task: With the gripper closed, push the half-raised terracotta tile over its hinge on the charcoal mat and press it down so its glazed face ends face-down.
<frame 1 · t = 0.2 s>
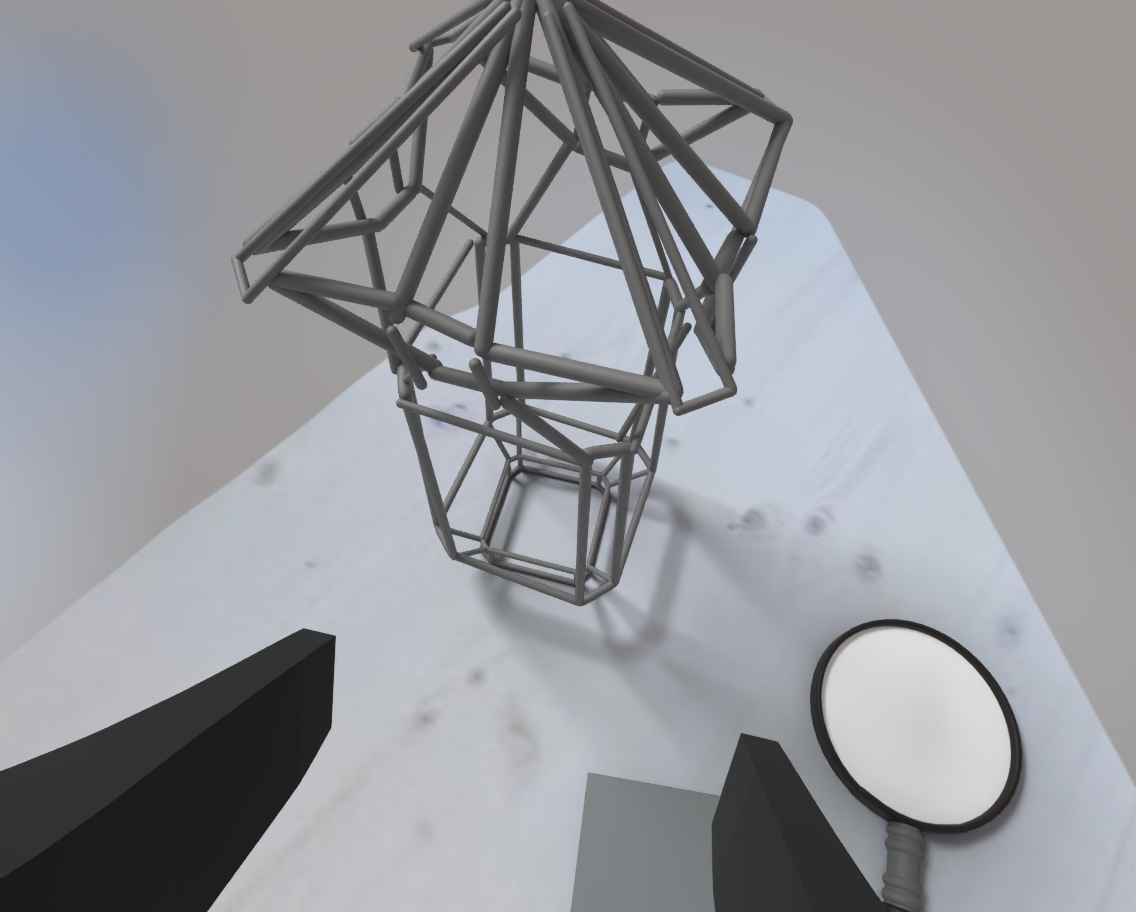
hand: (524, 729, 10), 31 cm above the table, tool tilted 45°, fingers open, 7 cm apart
magnifying glass: (896, 816, 36), on the table
geometric lantern: (560, 523, 46), on the table
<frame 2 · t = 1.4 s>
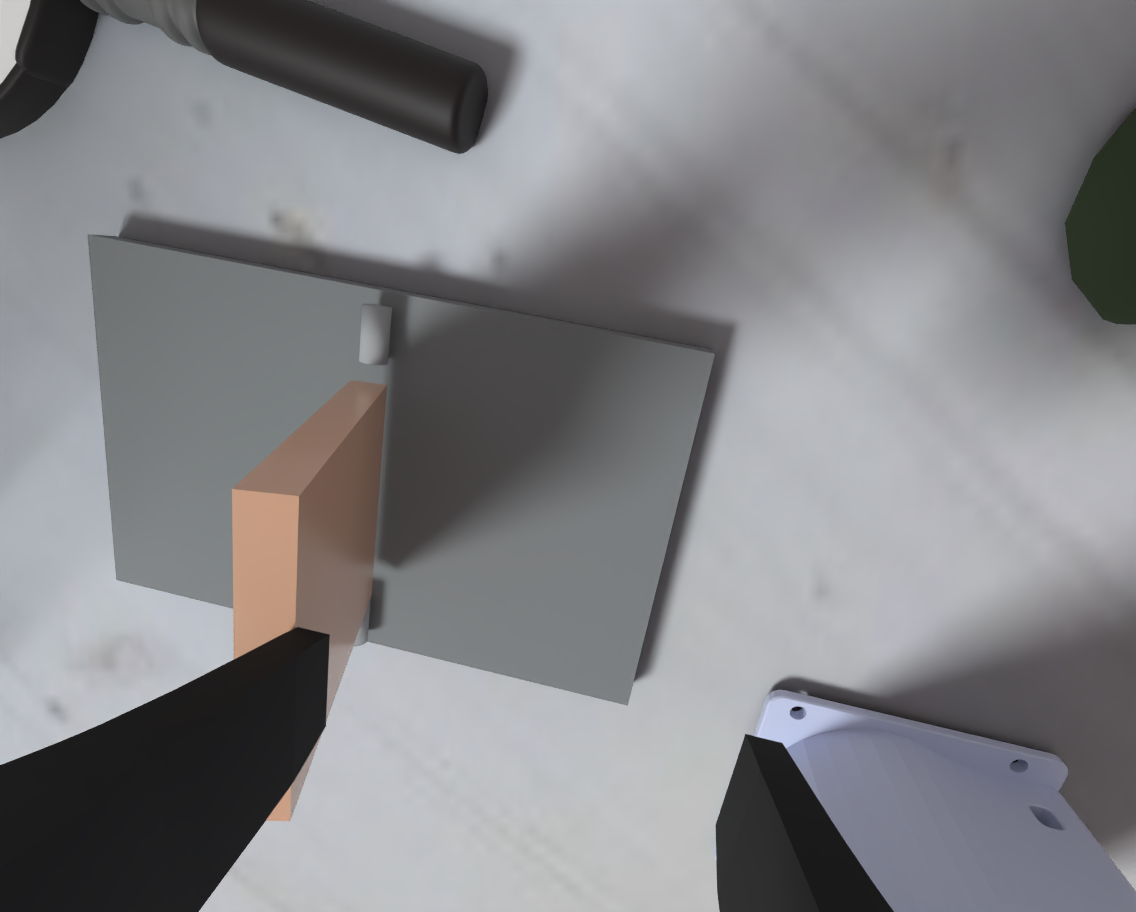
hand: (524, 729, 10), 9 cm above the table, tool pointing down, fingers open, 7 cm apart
tile: (324, 560, 14), point 6 cm above the table, hinge at 75.0°, touching gripper
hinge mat: (386, 473, 20), on the table
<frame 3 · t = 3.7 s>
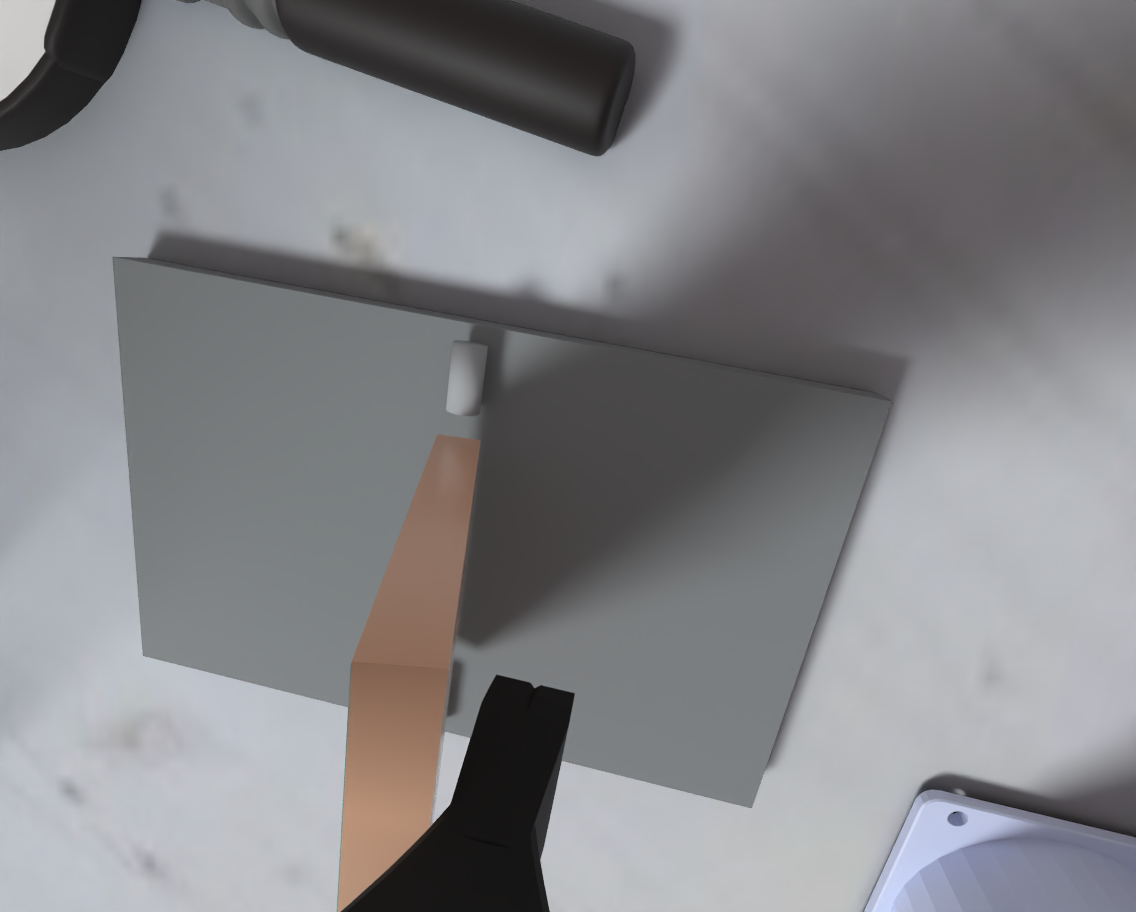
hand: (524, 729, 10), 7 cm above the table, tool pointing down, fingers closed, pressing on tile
tile: (422, 677, 11), point 6 cm above the table, hinge at 76.0°, touching gripper
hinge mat: (464, 535, 17), on the table
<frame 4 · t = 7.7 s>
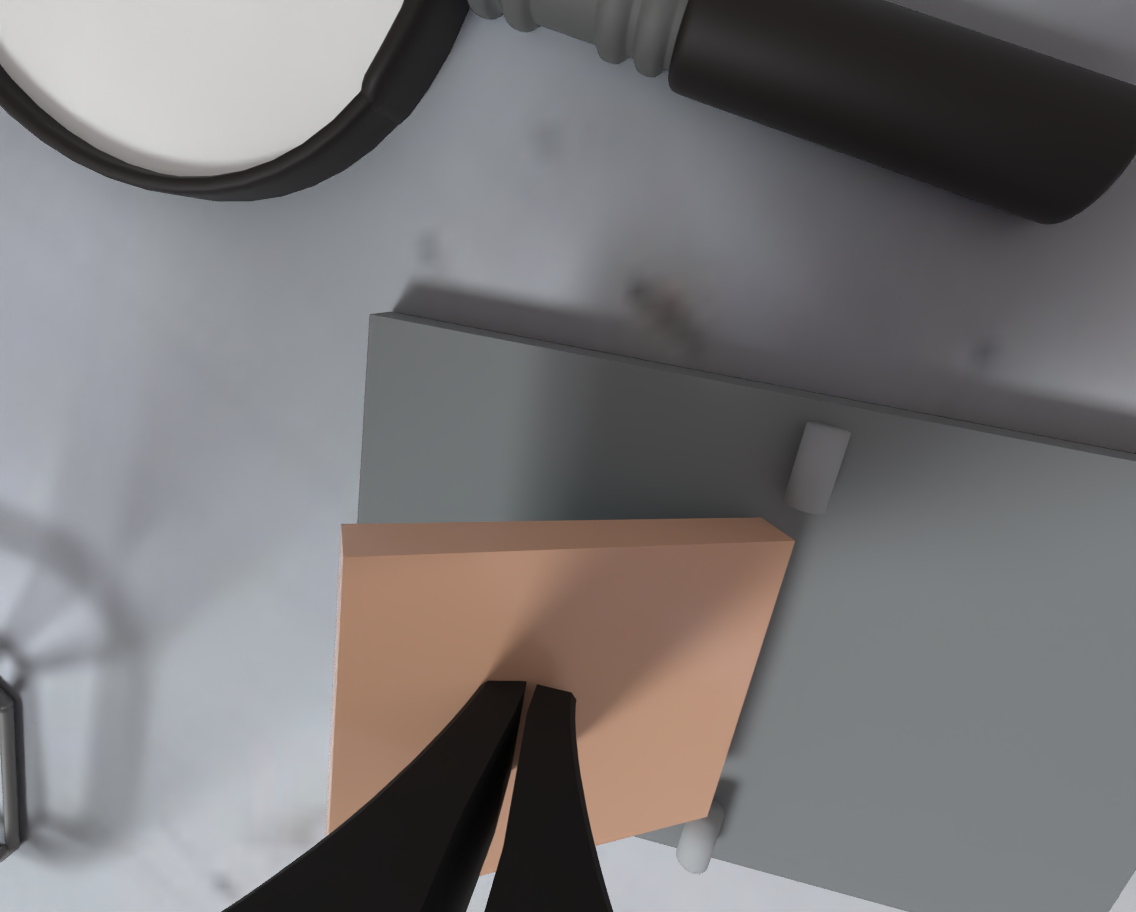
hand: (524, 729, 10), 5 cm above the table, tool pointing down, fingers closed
tile: (560, 699, 11), point 4 cm above the table, hinge at 149.2°, touching gripper
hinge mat: (742, 632, 14), on the table
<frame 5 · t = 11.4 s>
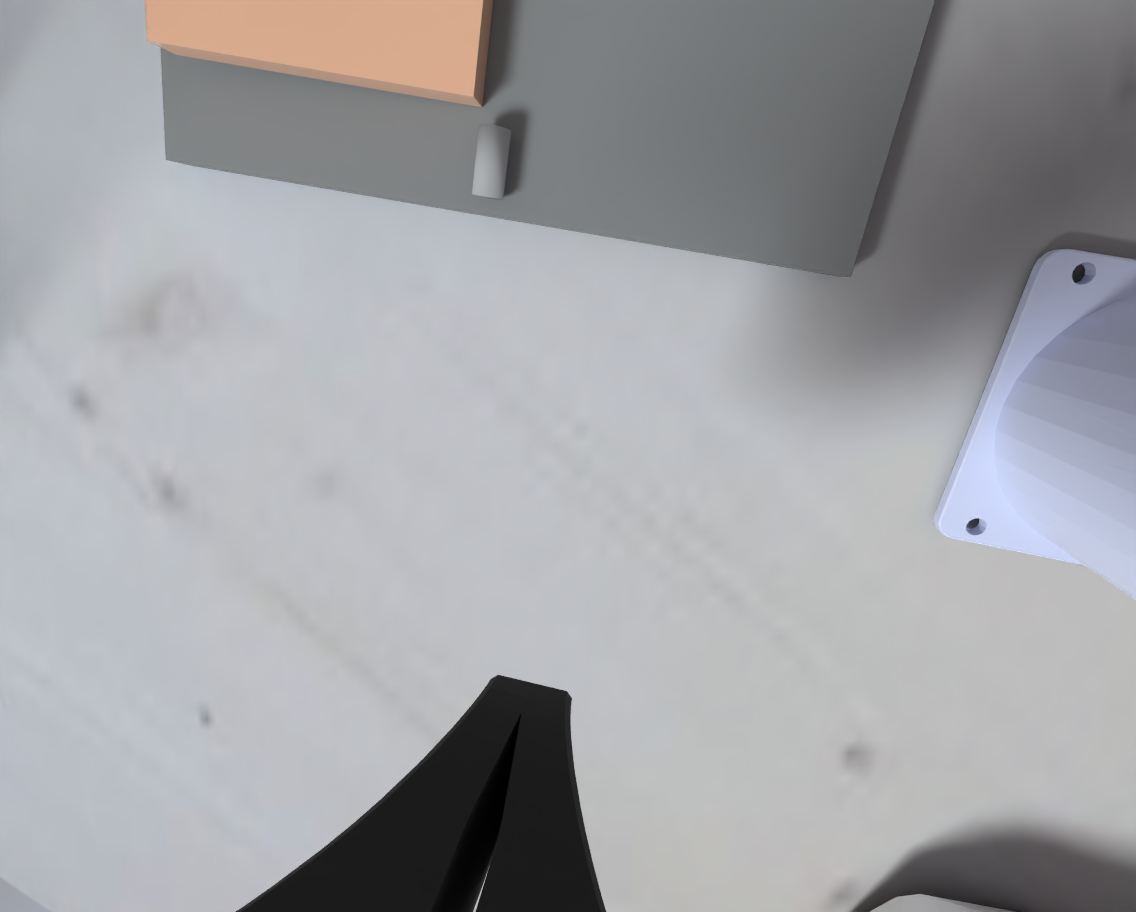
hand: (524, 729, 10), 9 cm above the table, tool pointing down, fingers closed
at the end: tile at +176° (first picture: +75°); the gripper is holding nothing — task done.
